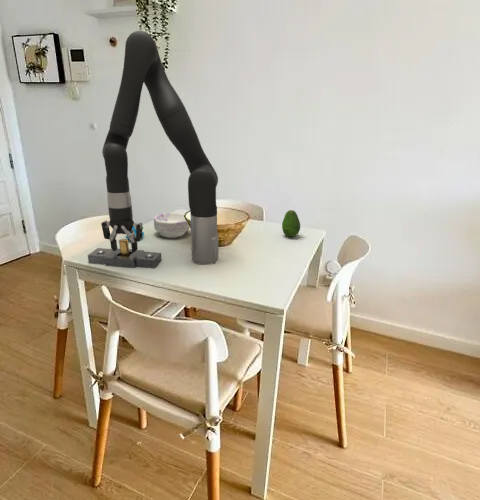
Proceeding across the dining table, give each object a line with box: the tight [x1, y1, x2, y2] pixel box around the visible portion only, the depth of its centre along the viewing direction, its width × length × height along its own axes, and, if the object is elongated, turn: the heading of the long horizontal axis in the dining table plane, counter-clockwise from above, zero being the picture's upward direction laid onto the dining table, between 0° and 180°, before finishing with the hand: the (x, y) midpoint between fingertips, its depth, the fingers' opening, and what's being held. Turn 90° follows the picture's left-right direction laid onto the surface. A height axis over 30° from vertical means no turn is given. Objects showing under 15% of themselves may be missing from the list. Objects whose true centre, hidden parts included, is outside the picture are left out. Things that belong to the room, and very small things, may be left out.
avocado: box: [281, 209, 301, 238], centre depth 154 cm, size 8×8×12 cm
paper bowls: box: [153, 212, 191, 239], centre depth 154 cm, size 15×15×8 cm
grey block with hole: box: [87, 247, 162, 269], centre depth 126 cm, size 24×9×4 cm, turn 82°
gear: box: [125, 226, 145, 240], centre depth 149 cm, size 11×6×10 cm
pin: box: [118, 238, 130, 257], centre depth 125 cm, size 3×3×8 cm
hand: (124, 250), depth 125 cm, fingers open, 6 cm apart
